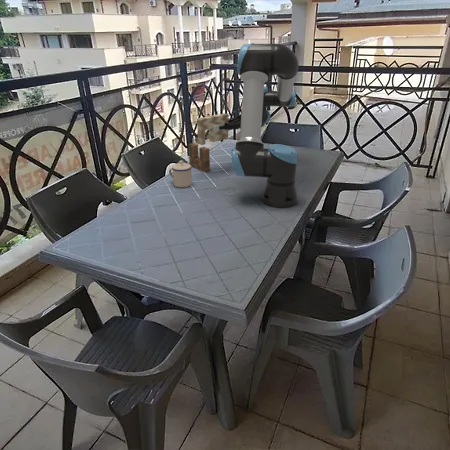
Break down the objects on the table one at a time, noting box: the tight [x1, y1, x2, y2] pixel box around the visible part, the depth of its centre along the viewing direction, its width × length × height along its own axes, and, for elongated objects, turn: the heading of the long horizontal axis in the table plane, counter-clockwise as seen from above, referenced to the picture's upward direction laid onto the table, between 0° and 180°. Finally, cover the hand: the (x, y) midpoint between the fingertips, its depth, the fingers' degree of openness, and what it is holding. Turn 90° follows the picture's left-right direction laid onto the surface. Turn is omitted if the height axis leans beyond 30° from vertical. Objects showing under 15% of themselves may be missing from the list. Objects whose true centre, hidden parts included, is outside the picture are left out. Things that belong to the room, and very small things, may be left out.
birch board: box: [196, 113, 230, 146], centre depth 169 cm, size 17×3×12 cm, turn 130°
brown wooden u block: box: [187, 142, 211, 173], centre depth 183 cm, size 14×3×12 cm, turn 41°
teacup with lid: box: [168, 160, 193, 188], centre depth 164 cm, size 12×9×12 cm
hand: (210, 128), depth 168 cm, fingers closed on birch board, 3 cm apart
